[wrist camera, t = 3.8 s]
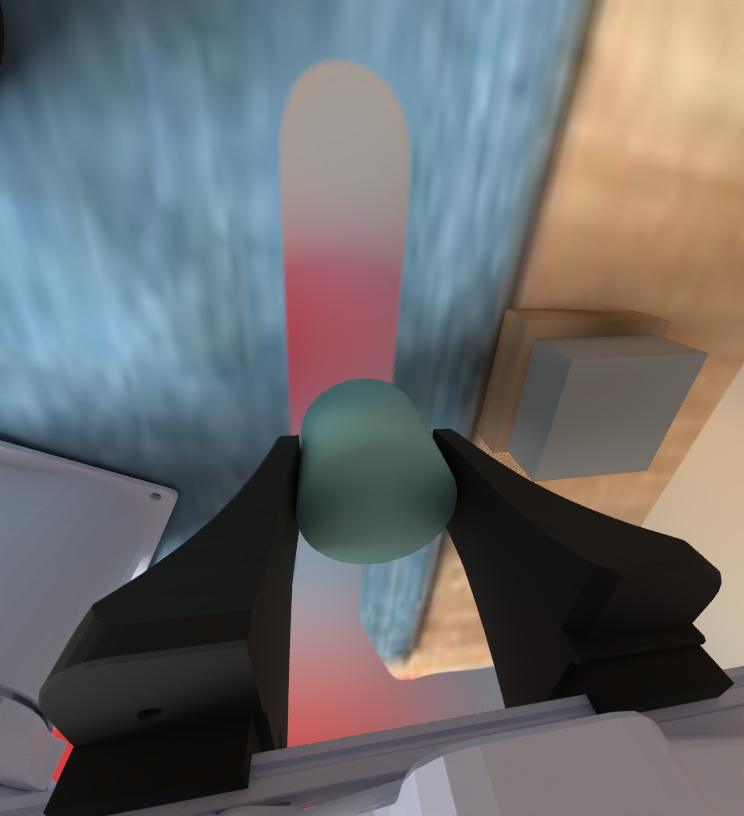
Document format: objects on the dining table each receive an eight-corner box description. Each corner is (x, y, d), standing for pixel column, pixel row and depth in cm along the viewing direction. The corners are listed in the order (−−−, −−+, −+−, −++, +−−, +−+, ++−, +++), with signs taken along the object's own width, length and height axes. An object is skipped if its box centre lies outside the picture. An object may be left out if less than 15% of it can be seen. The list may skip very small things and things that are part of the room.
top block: (506, 449, 18) (533, 481, 16) (535, 339, 15) (572, 359, 13) (608, 441, 19) (646, 470, 16) (654, 335, 16) (708, 353, 14)
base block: (473, 427, 20) (492, 452, 18) (501, 306, 17) (529, 319, 14) (579, 423, 21) (610, 446, 19) (626, 309, 18) (669, 321, 15)
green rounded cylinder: (281, 457, 13) (269, 543, 10) (336, 357, 11) (346, 416, 8) (381, 492, 15) (402, 576, 11) (442, 409, 13) (488, 477, 10)
